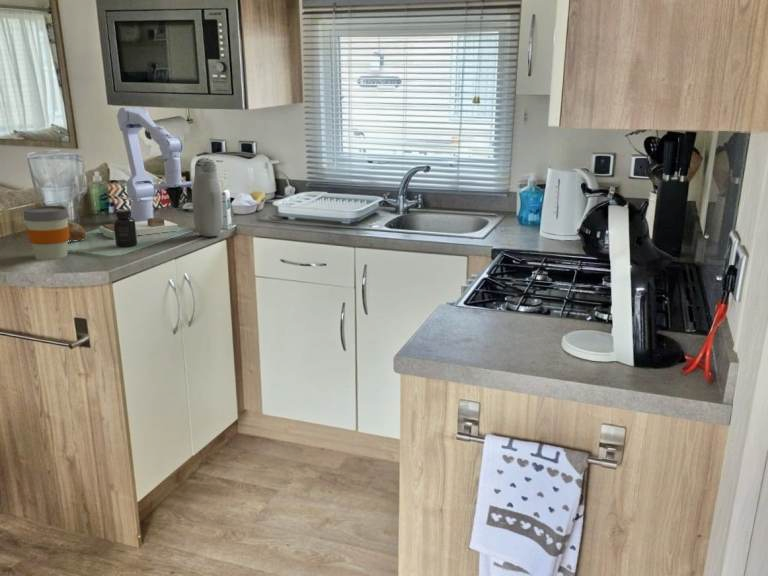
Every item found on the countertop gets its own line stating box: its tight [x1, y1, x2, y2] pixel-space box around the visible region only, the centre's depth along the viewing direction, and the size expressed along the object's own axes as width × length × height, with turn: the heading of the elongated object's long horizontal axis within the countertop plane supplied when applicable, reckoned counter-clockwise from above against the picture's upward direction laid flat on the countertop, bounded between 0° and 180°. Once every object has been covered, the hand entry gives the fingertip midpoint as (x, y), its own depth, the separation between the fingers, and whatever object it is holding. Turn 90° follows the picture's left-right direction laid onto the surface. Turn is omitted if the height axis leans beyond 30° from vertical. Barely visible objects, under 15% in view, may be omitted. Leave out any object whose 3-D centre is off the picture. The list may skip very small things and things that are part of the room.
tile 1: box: [102, 223, 114, 231], centre depth 245 cm, size 4×4×2 cm
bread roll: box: [68, 221, 87, 241], centre depth 234 cm, size 10×10×8 cm
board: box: [135, 219, 179, 236], centre depth 251 cm, size 14×15×2 cm
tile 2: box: [147, 216, 165, 227], centre depth 247 cm, size 4×4×2 cm
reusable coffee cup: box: [23, 205, 70, 261], centre depth 208 cm, size 13×13×15 cm
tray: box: [98, 225, 139, 239], centre depth 243 cm, size 14×9×2 cm, turn 41°
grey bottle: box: [191, 157, 223, 238], centre depth 239 cm, size 10×10×28 cm
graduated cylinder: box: [221, 188, 233, 230], centre depth 255 cm, size 6×6×14 cm
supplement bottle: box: [113, 209, 138, 248], centre depth 225 cm, size 7×7×12 cm
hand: (175, 207), depth 251 cm, fingers closed
